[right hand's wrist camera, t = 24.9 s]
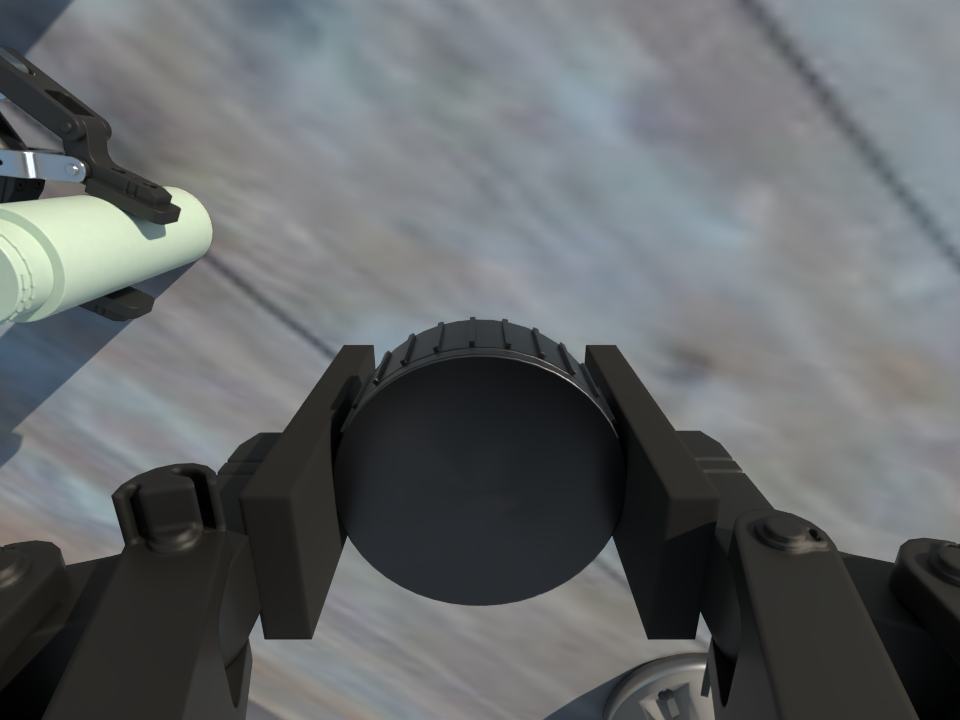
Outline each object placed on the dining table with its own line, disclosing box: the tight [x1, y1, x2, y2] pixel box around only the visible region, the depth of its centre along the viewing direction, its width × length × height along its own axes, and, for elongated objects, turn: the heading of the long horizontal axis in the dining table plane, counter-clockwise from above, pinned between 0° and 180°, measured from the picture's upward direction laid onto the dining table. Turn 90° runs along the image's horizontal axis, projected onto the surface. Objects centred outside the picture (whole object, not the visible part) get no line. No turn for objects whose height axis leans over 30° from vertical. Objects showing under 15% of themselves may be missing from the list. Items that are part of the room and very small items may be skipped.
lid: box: [333, 317, 627, 606], centre depth 11 cm, size 6×6×2 cm
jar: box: [0, 186, 212, 325], centre depth 28 cm, size 5×5×15 cm
